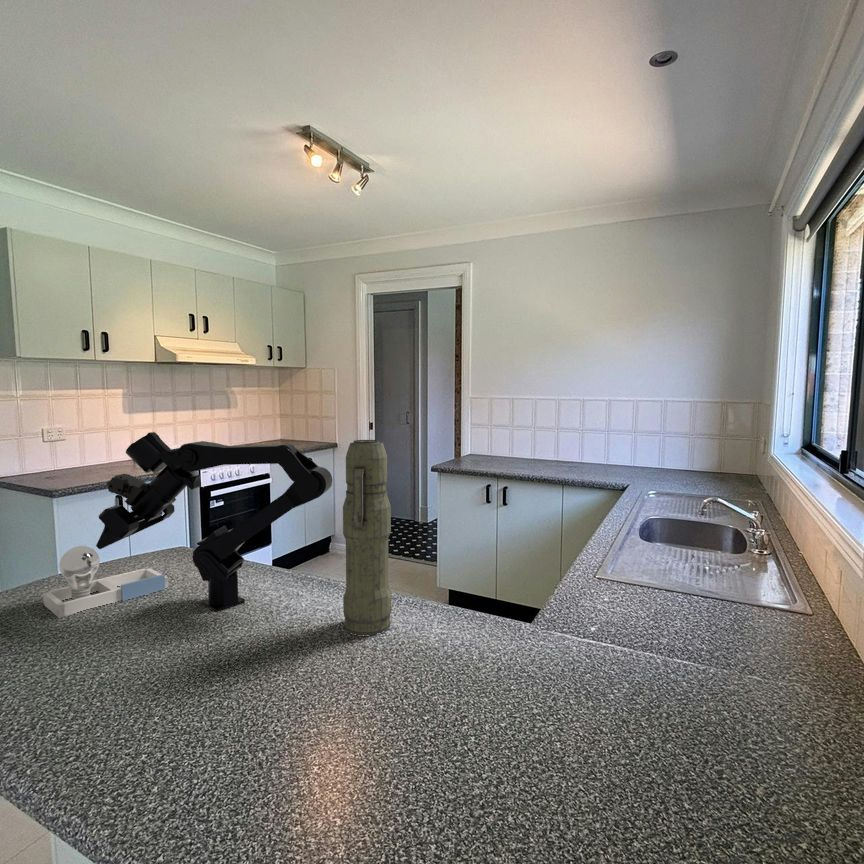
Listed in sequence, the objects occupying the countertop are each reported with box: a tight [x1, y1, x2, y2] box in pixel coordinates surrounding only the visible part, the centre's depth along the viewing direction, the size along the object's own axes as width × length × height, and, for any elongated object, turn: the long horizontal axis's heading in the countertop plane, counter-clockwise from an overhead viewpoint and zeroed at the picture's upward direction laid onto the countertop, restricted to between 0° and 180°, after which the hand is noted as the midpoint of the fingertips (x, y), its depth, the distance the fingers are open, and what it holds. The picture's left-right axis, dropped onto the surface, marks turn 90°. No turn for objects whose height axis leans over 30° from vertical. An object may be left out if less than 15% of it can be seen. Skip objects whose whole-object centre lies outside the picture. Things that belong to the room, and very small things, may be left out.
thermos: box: [342, 439, 392, 636], centre depth 96 cm, size 9×12×35 cm
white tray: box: [42, 567, 169, 619], centre depth 111 cm, size 11×21×4 cm, turn 140°
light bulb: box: [58, 545, 101, 600], centre depth 107 cm, size 7×7×12 cm
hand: (112, 541), depth 107 cm, fingers open, 9 cm apart
